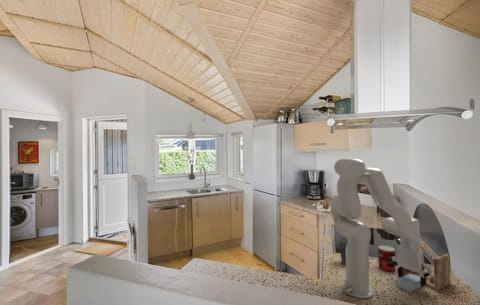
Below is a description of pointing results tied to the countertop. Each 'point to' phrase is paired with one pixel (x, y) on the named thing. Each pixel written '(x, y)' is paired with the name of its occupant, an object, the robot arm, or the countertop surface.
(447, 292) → the countertop surface
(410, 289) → the light blue block
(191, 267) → the countertop surface
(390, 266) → the canned food
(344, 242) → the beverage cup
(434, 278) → the peg shelf
